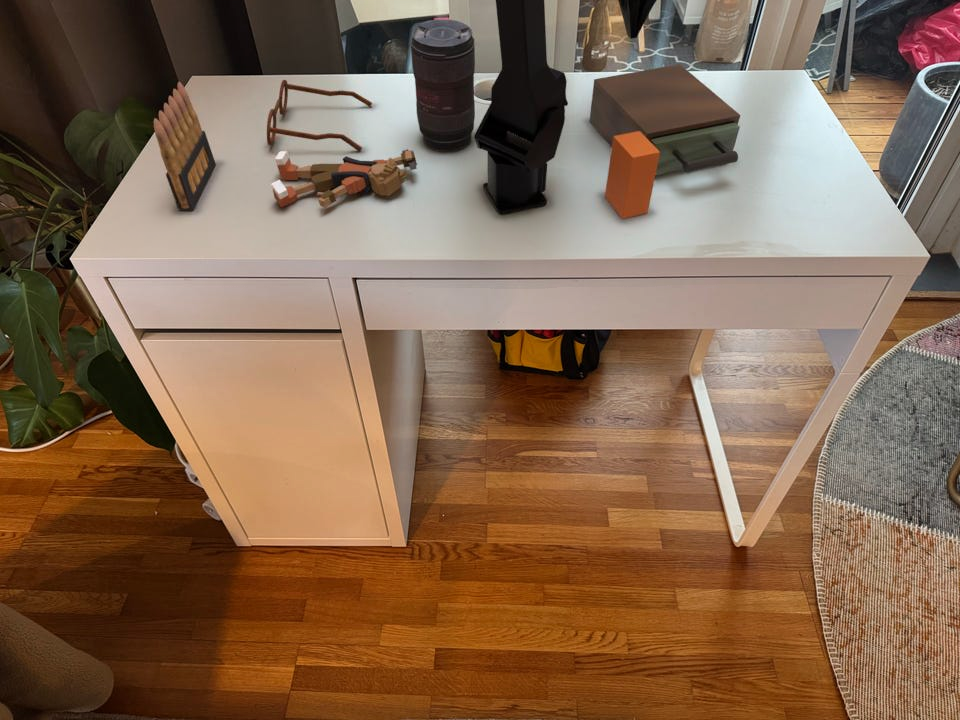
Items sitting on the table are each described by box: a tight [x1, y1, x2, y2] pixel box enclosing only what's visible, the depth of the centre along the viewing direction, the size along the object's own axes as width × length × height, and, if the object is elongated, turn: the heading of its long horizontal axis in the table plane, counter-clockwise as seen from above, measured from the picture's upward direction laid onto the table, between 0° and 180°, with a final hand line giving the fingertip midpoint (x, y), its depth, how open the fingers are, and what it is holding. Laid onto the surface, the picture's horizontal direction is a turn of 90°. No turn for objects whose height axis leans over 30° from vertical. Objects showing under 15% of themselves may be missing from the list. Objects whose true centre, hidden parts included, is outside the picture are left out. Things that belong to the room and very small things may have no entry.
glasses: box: [266, 79, 373, 152], centre depth 100 cm, size 13×13×5 cm
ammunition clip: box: [153, 81, 217, 212], centre depth 88 cm, size 11×2×12 cm, turn 179°
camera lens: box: [410, 18, 476, 152], centre depth 94 cm, size 8×8×15 cm
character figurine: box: [271, 148, 418, 209], centre depth 90 cm, size 12×5×18 cm
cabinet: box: [589, 63, 741, 148], centre depth 96 cm, size 15×13×6 cm
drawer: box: [650, 122, 741, 176], centre depth 94 cm, size 19×12×5 cm, turn 19°
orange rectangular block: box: [604, 131, 660, 220], centre depth 85 cm, size 5×4×8 cm
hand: (631, 37), depth 92 cm, fingers closed
